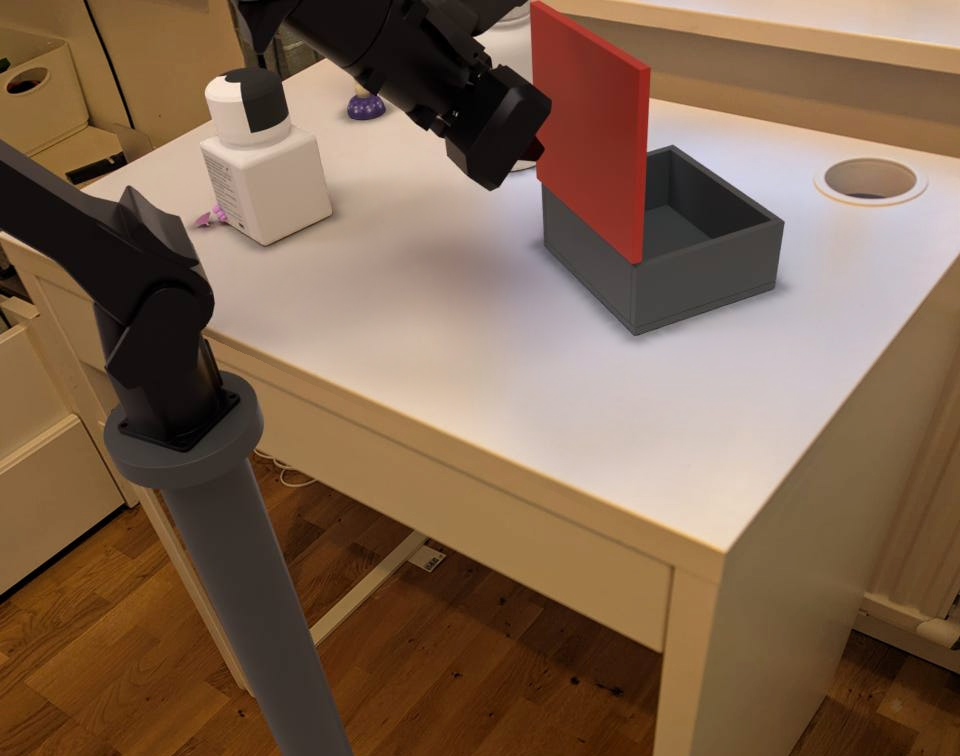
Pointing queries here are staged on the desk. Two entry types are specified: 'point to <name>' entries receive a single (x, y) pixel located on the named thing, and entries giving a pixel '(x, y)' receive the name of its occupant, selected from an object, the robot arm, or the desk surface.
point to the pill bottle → (511, 49)
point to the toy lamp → (365, 104)
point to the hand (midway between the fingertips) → (539, 153)
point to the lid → (592, 127)
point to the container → (262, 158)
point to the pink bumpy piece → (205, 217)
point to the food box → (673, 246)
